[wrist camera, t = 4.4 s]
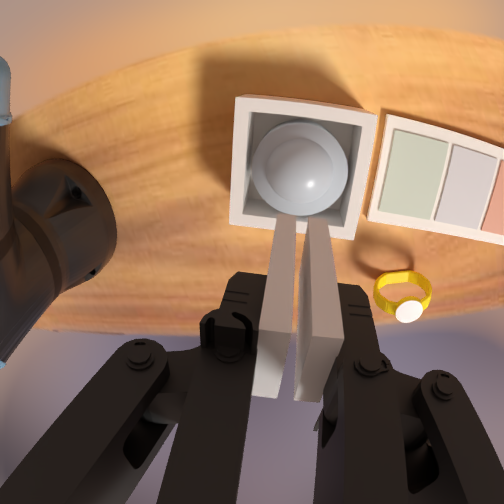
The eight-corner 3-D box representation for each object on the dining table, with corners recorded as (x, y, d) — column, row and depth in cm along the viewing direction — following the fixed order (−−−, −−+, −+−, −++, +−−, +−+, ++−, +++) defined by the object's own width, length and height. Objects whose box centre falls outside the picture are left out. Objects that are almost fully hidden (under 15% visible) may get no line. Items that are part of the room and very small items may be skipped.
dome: (253, 196, 27) (244, 220, 23) (259, 114, 24) (251, 122, 20) (335, 206, 27) (341, 233, 23) (348, 126, 23) (359, 136, 19)
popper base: (239, 201, 30) (229, 224, 26) (246, 93, 25) (235, 97, 21) (346, 215, 29) (353, 240, 25) (364, 108, 24) (377, 115, 20)
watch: (370, 287, 33) (375, 325, 28) (371, 266, 32) (377, 302, 27) (422, 284, 32) (434, 321, 27) (425, 262, 30) (439, 298, 26)
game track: (366, 218, 29) (367, 221, 29) (386, 113, 24) (388, 114, 23) (512, 245, 28) (516, 248, 27) (538, 163, 23) (543, 165, 22)
